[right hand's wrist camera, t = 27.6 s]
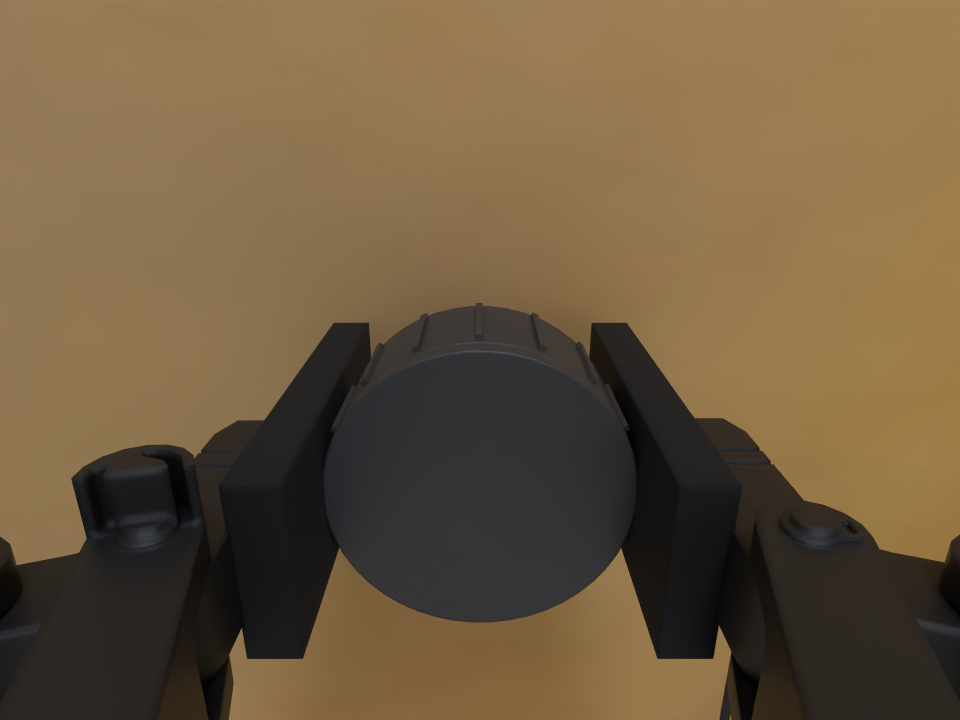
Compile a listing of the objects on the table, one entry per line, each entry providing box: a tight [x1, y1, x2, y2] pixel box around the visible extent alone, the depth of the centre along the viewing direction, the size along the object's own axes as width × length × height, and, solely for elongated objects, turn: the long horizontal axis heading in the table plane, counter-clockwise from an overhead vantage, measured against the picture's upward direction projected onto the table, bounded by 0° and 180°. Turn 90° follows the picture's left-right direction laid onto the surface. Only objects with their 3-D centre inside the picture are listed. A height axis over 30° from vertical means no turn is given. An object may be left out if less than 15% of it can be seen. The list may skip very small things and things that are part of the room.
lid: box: [323, 303, 638, 622], centre depth 11 cm, size 5×5×2 cm
